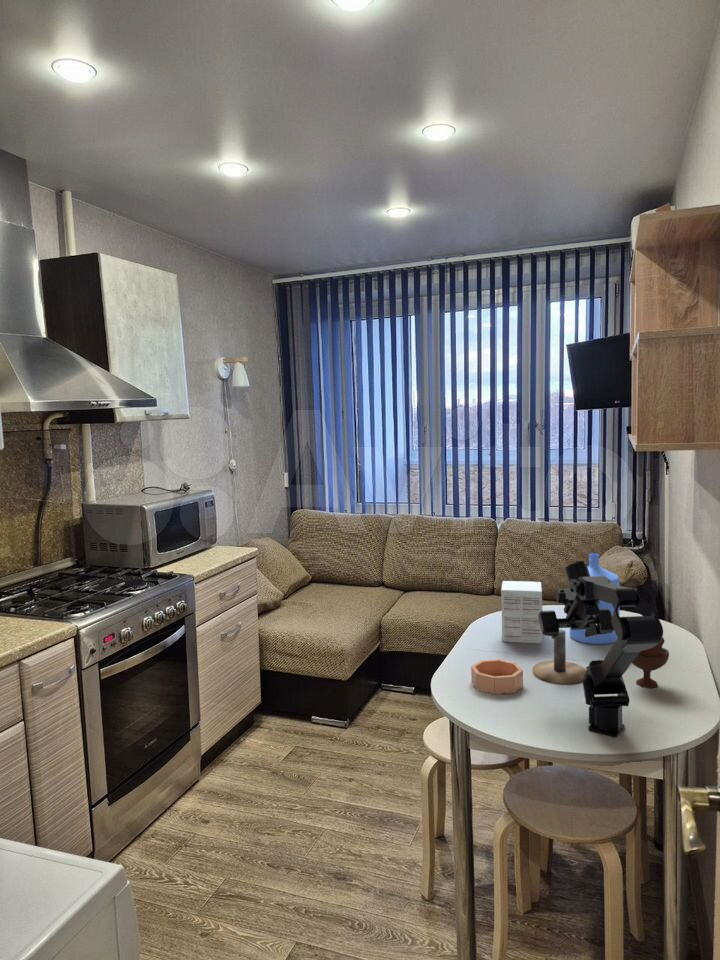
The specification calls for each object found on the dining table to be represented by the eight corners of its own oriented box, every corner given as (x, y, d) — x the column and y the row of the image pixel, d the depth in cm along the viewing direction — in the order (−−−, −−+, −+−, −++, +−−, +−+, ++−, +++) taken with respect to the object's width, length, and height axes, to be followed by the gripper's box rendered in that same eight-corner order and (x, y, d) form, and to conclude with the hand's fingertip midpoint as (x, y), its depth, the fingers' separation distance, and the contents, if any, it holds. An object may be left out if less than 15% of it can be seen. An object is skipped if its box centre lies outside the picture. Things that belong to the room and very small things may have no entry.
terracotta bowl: (529, 681, 180) (529, 666, 180) (507, 697, 170) (507, 681, 170) (487, 671, 188) (487, 656, 188) (464, 686, 178) (464, 670, 178)
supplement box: (503, 629, 227) (502, 580, 225) (542, 631, 223) (541, 581, 222) (501, 642, 214) (500, 589, 212) (542, 644, 210) (542, 591, 209)
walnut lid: (595, 671, 186) (595, 628, 185) (575, 689, 175) (575, 643, 174) (545, 660, 196) (545, 620, 195) (523, 676, 184) (523, 633, 183)
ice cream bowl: (631, 673, 184) (631, 621, 182) (674, 682, 177) (674, 628, 175) (619, 685, 176) (619, 631, 174) (663, 695, 168) (663, 639, 167)
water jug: (598, 627, 225) (597, 548, 223) (630, 641, 210) (630, 556, 208) (559, 633, 220) (559, 552, 218) (590, 648, 205) (589, 561, 203)
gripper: (610, 579, 170) (595, 608, 182) (539, 581, 170) (528, 611, 181) (623, 617, 163) (606, 645, 174) (549, 620, 162) (537, 648, 174)
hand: (568, 636), depth 176 cm, fingers open, 9 cm apart
